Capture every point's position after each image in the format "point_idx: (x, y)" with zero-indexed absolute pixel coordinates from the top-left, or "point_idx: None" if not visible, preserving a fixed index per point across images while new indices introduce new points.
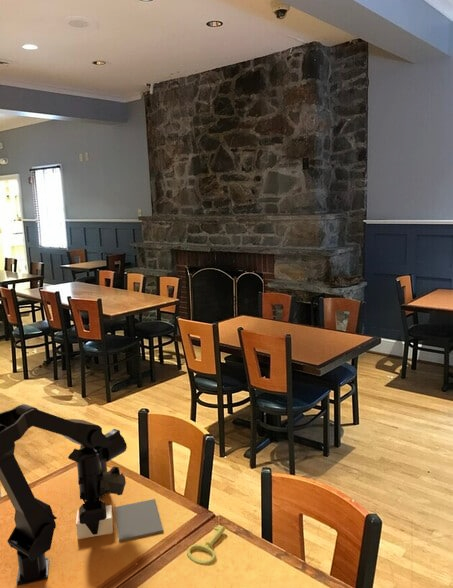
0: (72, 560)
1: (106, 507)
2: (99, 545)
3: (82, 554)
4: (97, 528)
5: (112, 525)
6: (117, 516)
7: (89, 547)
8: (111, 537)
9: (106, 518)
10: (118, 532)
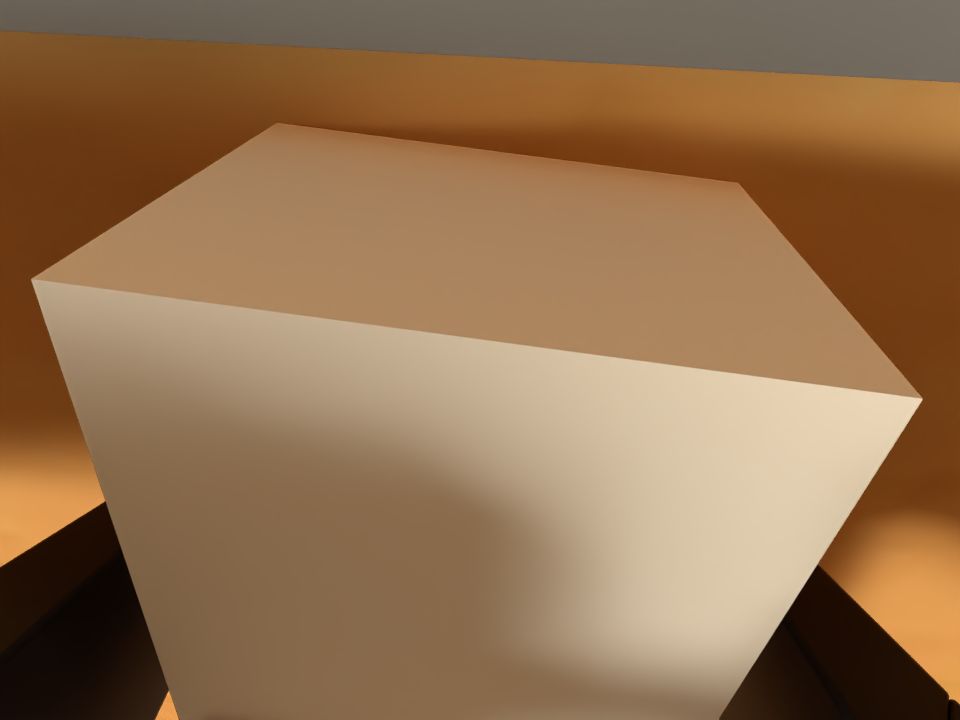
0: (952, 680)
1: (183, 445)
2: (924, 426)
3: (935, 605)
4: (825, 589)
5: (580, 182)
6: (236, 5)
7: (858, 534)
8: (861, 223)
9: (832, 531)
10: (909, 68)
